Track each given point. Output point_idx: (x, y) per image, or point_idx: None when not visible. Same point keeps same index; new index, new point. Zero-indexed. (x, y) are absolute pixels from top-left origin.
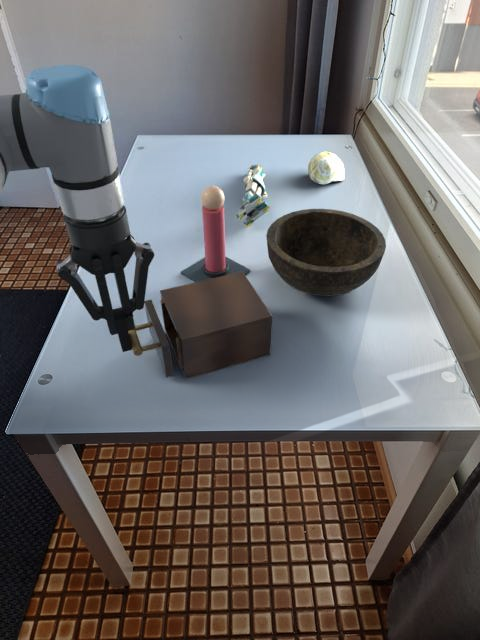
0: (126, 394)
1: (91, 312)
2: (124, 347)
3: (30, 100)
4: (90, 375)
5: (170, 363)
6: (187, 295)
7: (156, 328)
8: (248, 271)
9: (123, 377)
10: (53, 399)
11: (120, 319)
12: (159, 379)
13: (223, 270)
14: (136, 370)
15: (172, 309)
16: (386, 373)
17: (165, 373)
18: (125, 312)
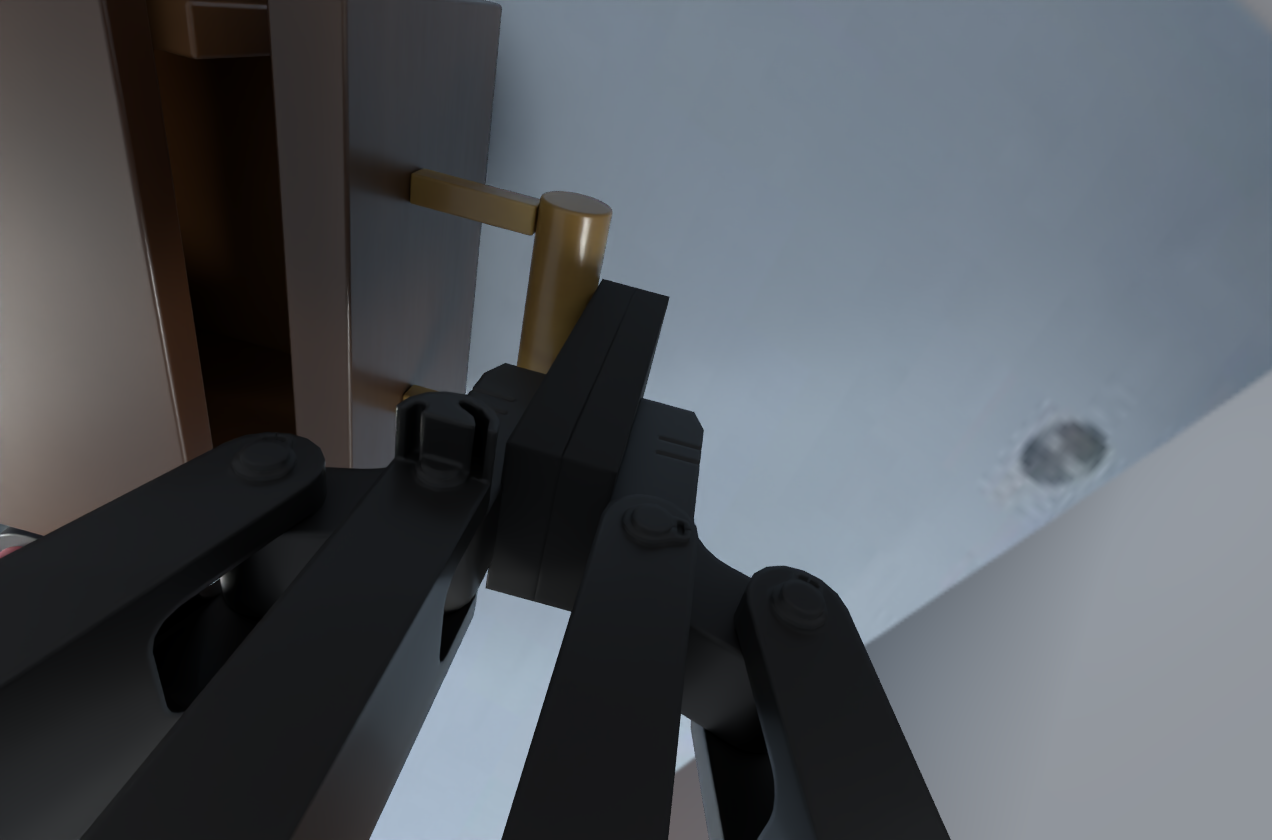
0: (779, 67)
1: (854, 699)
2: (645, 307)
3: None
4: (866, 341)
5: None
6: (7, 429)
7: (333, 268)
8: None
9: (725, 215)
10: (1133, 303)
11: (559, 455)
12: (549, 61)
13: (10, 543)
14: (637, 220)
15: (136, 363)
16: None
17: (490, 16)
18: (463, 490)
